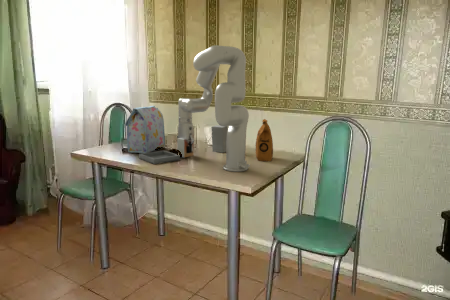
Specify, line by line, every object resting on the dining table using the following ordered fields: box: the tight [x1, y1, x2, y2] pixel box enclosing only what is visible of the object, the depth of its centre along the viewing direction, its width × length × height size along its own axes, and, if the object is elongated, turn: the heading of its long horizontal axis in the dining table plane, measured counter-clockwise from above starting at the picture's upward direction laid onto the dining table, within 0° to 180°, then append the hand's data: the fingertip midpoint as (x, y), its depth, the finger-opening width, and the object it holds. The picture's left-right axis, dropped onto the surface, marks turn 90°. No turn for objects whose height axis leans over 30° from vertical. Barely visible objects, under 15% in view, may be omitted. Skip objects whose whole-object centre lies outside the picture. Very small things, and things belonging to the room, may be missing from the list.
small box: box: [176, 137, 195, 159], centre depth 203 cm, size 8×6×10 cm
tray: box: [138, 150, 181, 165], centre depth 195 cm, size 16×16×3 cm
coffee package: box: [255, 118, 274, 162], centre depth 198 cm, size 10×12×22 cm
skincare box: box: [210, 124, 229, 153], centre depth 216 cm, size 8×7×16 cm
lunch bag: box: [124, 105, 166, 154], centre depth 216 cm, size 22×17×26 cm
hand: (185, 151), depth 204 cm, fingers closed on small box, 6 cm apart
